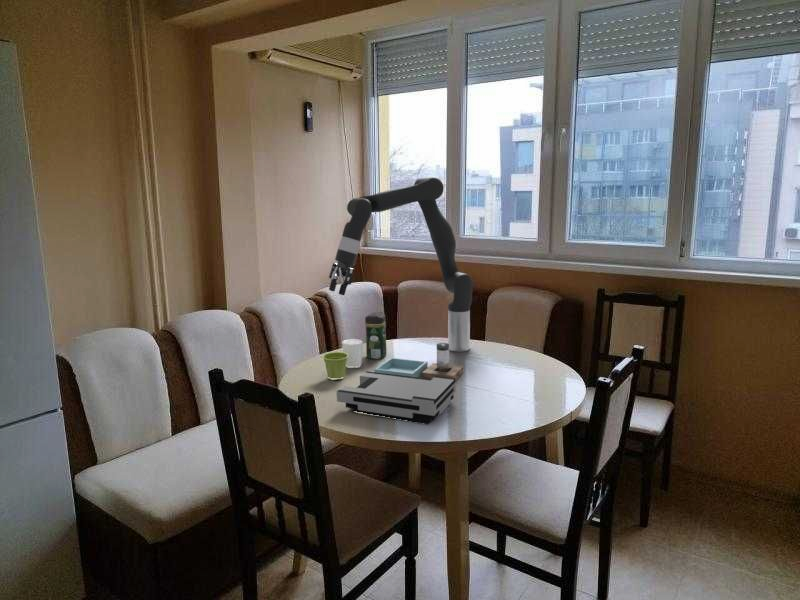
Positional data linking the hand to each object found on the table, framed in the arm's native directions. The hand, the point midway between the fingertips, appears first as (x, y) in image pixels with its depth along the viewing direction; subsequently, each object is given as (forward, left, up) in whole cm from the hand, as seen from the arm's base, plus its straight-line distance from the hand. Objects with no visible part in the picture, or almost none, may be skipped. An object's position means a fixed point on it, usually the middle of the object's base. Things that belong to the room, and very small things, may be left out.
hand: (336, 292), depth 205 cm
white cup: (-7, +2, -31) cm, 32 cm away
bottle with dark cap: (-8, +39, -31) cm, 50 cm away
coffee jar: (-22, +5, -31) cm, 38 cm away
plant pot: (+8, +3, -31) cm, 32 cm away
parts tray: (-3, +24, -31) cm, 39 cm away
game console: (+25, +35, -31) cm, 53 cm away
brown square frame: (-8, +39, -31) cm, 50 cm away
